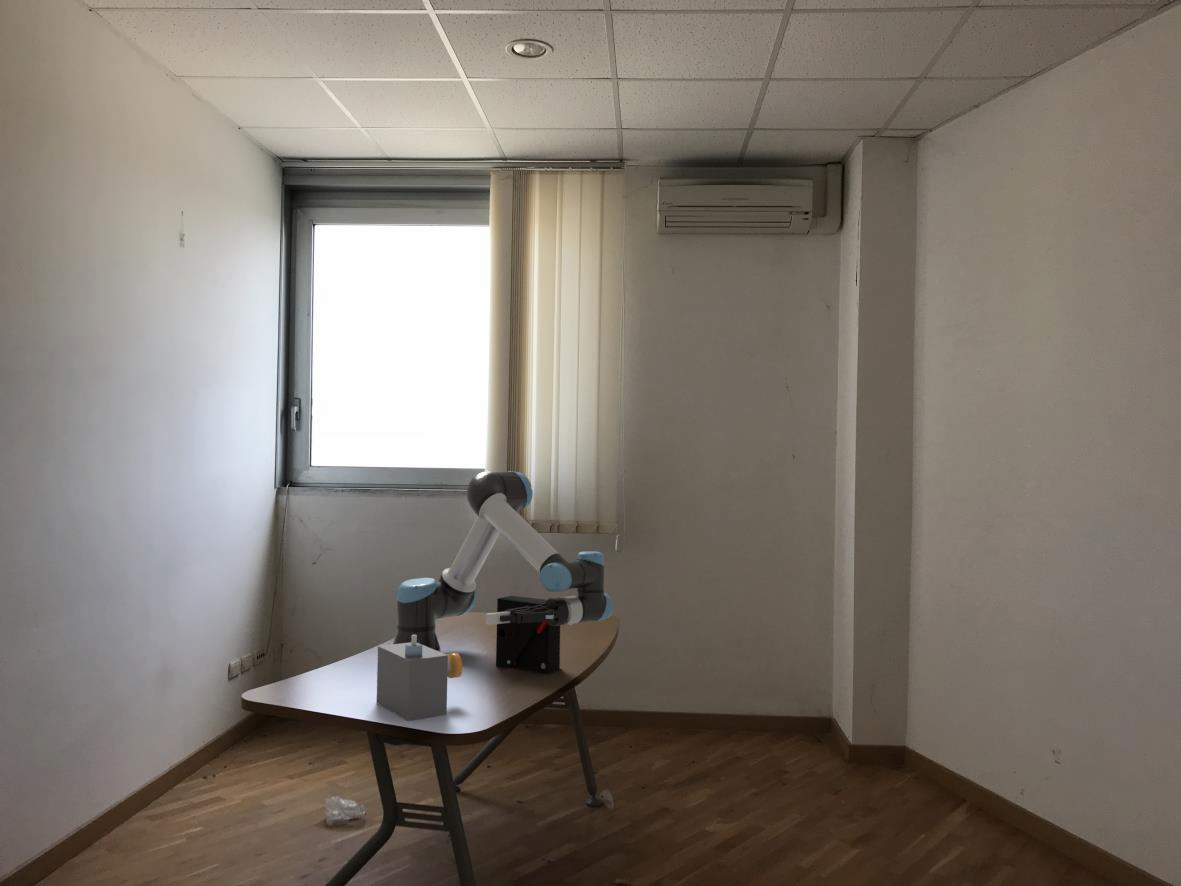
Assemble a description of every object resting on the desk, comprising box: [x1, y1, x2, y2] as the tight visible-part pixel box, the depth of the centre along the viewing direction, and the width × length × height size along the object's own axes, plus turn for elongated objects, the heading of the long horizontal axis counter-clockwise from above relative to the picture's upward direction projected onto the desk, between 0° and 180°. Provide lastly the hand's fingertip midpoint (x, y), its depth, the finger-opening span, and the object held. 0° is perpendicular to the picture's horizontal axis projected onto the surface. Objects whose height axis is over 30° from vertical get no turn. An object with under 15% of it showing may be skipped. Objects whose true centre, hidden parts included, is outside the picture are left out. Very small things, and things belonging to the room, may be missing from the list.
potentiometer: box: [405, 635, 422, 657], centre depth 207 cm, size 4×4×5 cm
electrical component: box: [495, 595, 562, 675], centre depth 256 cm, size 18×10×20 cm, turn 59°
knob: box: [446, 652, 463, 679], centre depth 217 cm, size 6×8×6 cm
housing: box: [376, 642, 448, 722], centre depth 212 cm, size 18×10×14 cm, turn 37°
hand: (487, 619), depth 224 cm, fingers closed
